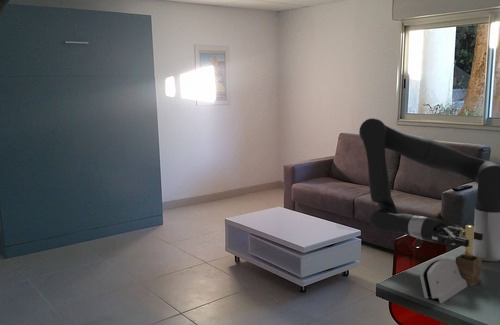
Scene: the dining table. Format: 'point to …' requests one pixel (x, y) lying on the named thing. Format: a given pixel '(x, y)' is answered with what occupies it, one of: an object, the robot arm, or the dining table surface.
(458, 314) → the dining table surface
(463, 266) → the pin block
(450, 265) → the hinge
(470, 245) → the pin
